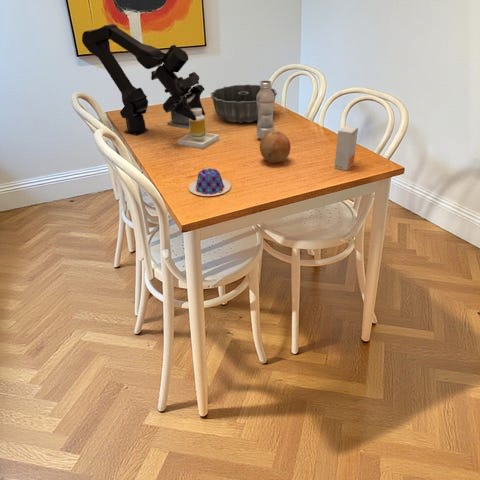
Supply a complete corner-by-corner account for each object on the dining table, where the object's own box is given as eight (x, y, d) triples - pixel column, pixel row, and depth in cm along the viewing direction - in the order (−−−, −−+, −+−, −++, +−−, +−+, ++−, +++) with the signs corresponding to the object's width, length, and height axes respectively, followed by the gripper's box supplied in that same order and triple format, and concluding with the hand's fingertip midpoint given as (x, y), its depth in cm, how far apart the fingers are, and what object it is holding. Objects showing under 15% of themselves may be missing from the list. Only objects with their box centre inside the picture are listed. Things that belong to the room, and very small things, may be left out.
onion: (291, 156, 149) (292, 126, 144) (288, 168, 141) (289, 137, 136) (262, 154, 151) (262, 125, 146) (257, 166, 143) (257, 135, 138)
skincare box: (347, 171, 138) (351, 132, 132) (334, 168, 140) (337, 130, 134) (354, 164, 143) (358, 126, 136) (341, 161, 145) (345, 124, 138)
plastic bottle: (262, 143, 160) (262, 85, 149) (252, 138, 165) (252, 81, 154) (277, 140, 162) (279, 82, 152) (268, 135, 168) (269, 78, 157)
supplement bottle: (207, 138, 160) (205, 110, 155) (192, 140, 159) (189, 112, 154) (203, 133, 165) (201, 106, 159) (189, 135, 163) (186, 108, 158)
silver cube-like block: (167, 125, 180) (164, 102, 175) (180, 118, 186) (178, 96, 182) (188, 128, 176) (186, 105, 171) (201, 122, 182) (199, 99, 177)
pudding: (182, 186, 133) (180, 169, 130) (218, 176, 138) (217, 160, 135) (200, 202, 124) (198, 184, 121) (238, 191, 129) (238, 174, 126)
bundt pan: (218, 130, 174) (217, 103, 168) (206, 111, 195) (205, 87, 190) (284, 123, 179) (285, 97, 173) (265, 105, 200) (265, 82, 195)
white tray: (178, 144, 161) (177, 139, 160) (195, 135, 169) (194, 130, 168) (203, 149, 157) (202, 144, 156) (219, 139, 164) (219, 134, 163)
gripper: (166, 71, 144) (198, 110, 145) (198, 60, 158) (227, 96, 159) (149, 93, 151) (180, 131, 153) (181, 81, 165) (208, 115, 167)
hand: (199, 117), depth 158 cm, fingers closed on supplement bottle, 5 cm apart
